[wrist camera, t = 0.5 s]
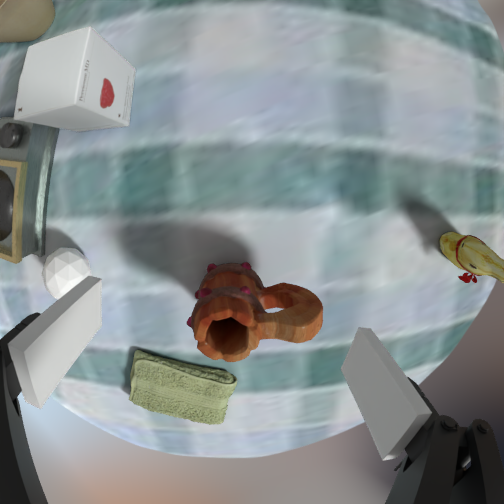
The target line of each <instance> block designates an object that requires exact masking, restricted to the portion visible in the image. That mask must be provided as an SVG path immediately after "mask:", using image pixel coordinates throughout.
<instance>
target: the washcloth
mask: <svg viewBox="0 0 504 504" xmlns="http://www.w3.org/2000/svg"><path fill="white" fill-rule="evenodd" d="M133 360H134V361H133V365H132V369H131V374H130V379H131V393H130V397H129V400H130V401H132V402H133V403H134V404H136V405H138V406H141V407H143V408H145V409H148V410H149V411H153V412H158V413H160V414H161V413H163V414H166V415H169V416H174V417H178V418H183V419H189V420H191V421H193V422H198V423H199V422H200V423H206V424H209V425H210V424H221V423H223V421H224V417H225V414H226V413H225V412H226V410H227V406H228V405H227V402H228V399H229V397H230V396H231V395H232V393H233V391H234V390H235V387H236V385H237V378H236V377H235V376H234V375H232V374H230V373H229V372H226V371H222V370H219V369H211V368H207V367H199V366H197V365H192V364H186V363H181V362H178V361H174V359H173V360H171V359H170V360H169V359H164V358H162V357H157V356H152V355H151V354H147V353H145V352H142V351H141V350H136V351H135V353H134V359H133Z"/></svg>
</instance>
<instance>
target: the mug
mask: <svg viewBox="0 0 504 504" xmlns="http://www.w3.org/2000/svg"><path fill="white" fill-rule="evenodd" d="M207 272H208V273H207V274H206V276H205V277H204V279H203V281H202V283H201V285H200V288H199V290H198V291H197V292H196V293H195V297H196V299H199V300H198V301H197V303H196V304H195V307H194V310H193V312H192V316H191V317H189V319H188V321H187V325H188V326H189V327H191V328H192V329H193V332H194V338H195V340H198V344H197V348H198V349H199V350H200V351H201V352H202V353H203V354H204V355H206V356H207V357H209V358H211V359H213V360H218V359H224V360H225V361H227V362H236V361H240V360H242V359H245V358H246V357H247V356H249V354H250V351H251V350H254V349H256V348H257V347H258V344H259V341H260V340H261V339H280V340H284V341H288V342H294V343H302V342H305V341H308V340H311V339H312V338H313V337H314V336H315V335H316V334H317V333H318V332H319V330H320V329H321V327H322V322H323V306H322V303H321V301H320V300H319V298H318V297H317V296H316V295H315V294H314V293H312V292H311V291H309V290H308V289H305V288H303V287H300V286H297V285H293V284H287V283H279V284H276V285H274V286H270V287H267V288H266V287H264V286H263V284H262V281H261V279H260V278H259V276H258V275H257V274H256V272H255V271H253V270H252V269H251V266H250V264H249V263H248V262H244V263H242V264H237V263H227V264H222V265H219V266H216V265H215V264H209V265H208V267H207ZM275 307H277V308H283V310H281V311H279V312H275V313H267V312H265V309H270V308H275Z"/></svg>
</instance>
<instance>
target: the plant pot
mask: <svg viewBox="0 0 504 504" xmlns="http://www.w3.org/2000/svg"><path fill="white" fill-rule="evenodd" d="M54 17H55V9H54V6H53V2H52V0H0V42H24V41H33V40H35V39H37V38H39V37H40V36H42V35H43V34H44V33H45V32H46V31H47V30H48V28H49V27H50V26H51V24H52V22H53V20H54Z"/></svg>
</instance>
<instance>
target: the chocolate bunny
mask: <svg viewBox="0 0 504 504" xmlns="http://www.w3.org/2000/svg"><path fill="white" fill-rule="evenodd" d="M439 241H440V249H441V251H442V252H443V254H444V255H445V256H446V257H447V258H448V259H449V260H450V261H451V262H452V263H453V264H454V265H456V266H457V267H458V268H460V269H463V270H466V271H468V272H470V273H472V275H469V276H467V275H468V273H464V274H463V276H459V279H460V280H462V281H464V282H465V283H469V282H470V280H471V279H472V276H474V278H473V279H472V281H473V282H474V283H477V279H476V277H475V275H476V274H477V276H482V275H488V276H491V277H493V278H496V279H497V280H499V281H501V282H502V283H504V260H503V259H501V258H500V257H499V256H498V255H497V254H496V253H495V252H494V251H493V250H491V249H490V248H489V247H488V246H487V245H486V244H485V243H484V242H482V241H481V240H480V239H478V238H477V237H474V236H472V237H471V235H467V236H466V235H460V234H457V233H455V232H447V233H445V234H443V235H442V236H441V238H440V240H439Z"/></svg>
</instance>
